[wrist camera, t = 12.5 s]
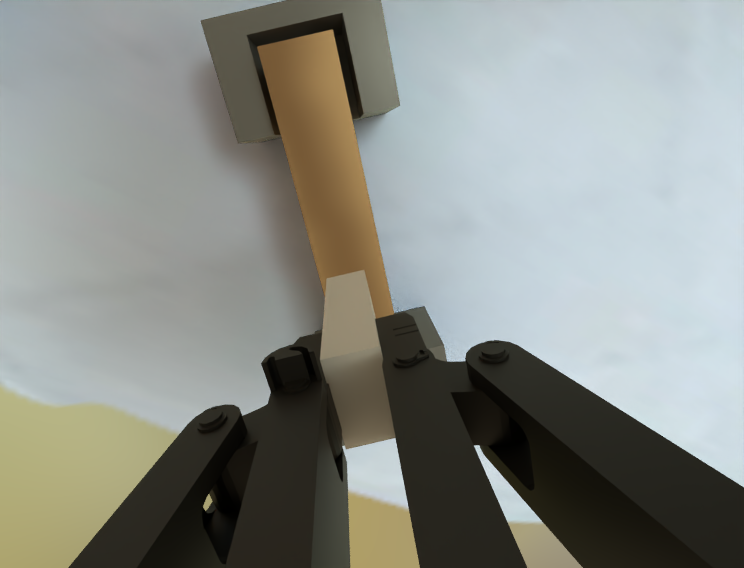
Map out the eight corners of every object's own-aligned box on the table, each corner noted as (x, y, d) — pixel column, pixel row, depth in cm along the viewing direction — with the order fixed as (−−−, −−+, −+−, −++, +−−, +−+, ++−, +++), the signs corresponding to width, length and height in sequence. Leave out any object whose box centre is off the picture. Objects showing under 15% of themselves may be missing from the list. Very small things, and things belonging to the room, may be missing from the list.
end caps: (368, 16, 26) (377, -21, 20) (436, 369, 35) (457, 419, 28) (232, 48, 26) (200, 20, 20) (333, 393, 35) (331, 448, 28)
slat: (334, 54, 25) (332, 29, 19) (404, 376, 32) (418, 426, 27) (275, 67, 25) (256, 46, 19) (359, 386, 32) (363, 439, 27)
